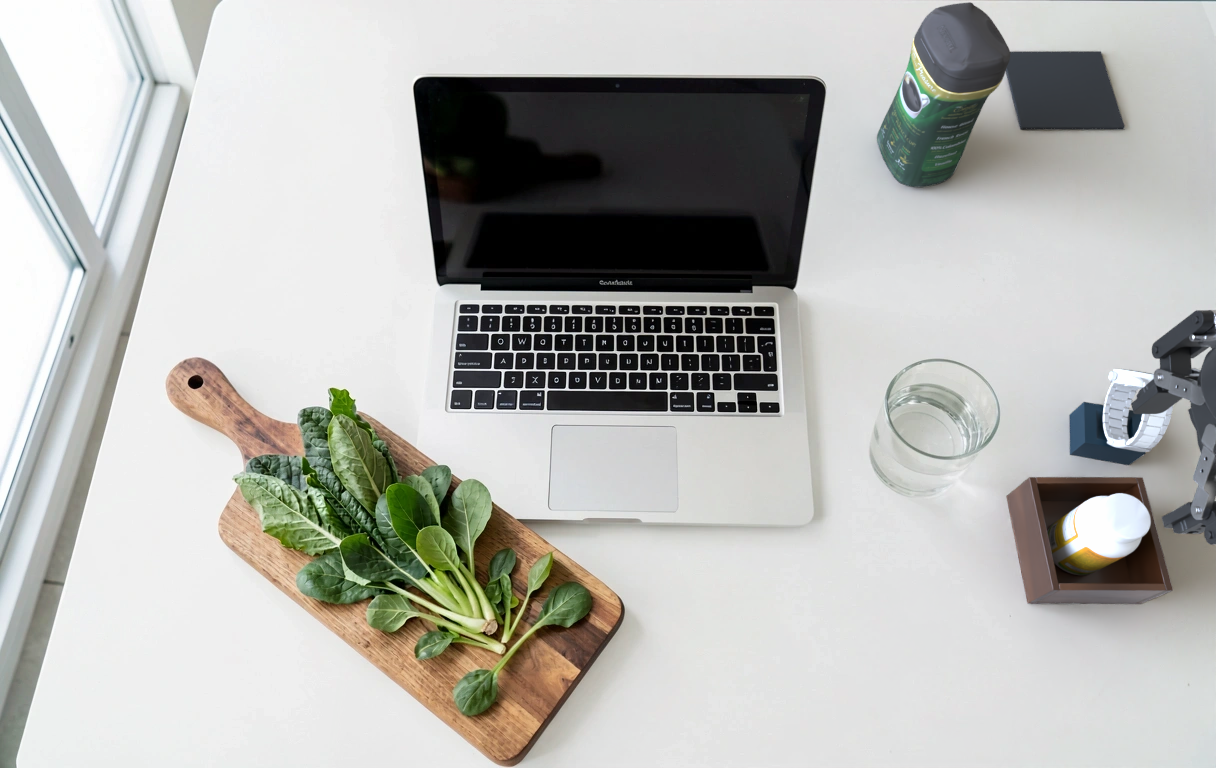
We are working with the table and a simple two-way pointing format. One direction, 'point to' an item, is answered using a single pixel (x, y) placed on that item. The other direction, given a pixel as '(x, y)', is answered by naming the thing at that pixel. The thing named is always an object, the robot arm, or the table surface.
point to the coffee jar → (942, 94)
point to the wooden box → (1112, 584)
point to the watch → (1117, 423)
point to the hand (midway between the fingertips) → (1160, 464)
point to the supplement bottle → (1098, 533)
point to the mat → (1062, 91)
